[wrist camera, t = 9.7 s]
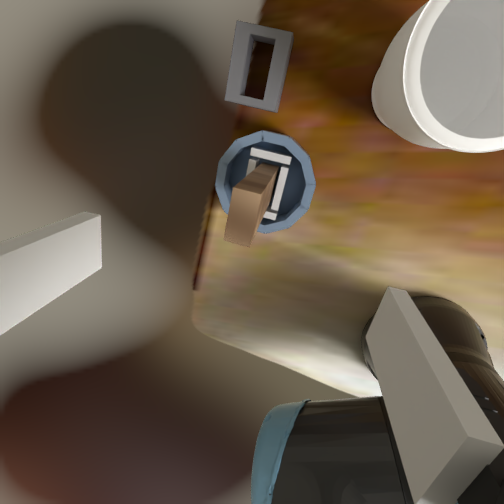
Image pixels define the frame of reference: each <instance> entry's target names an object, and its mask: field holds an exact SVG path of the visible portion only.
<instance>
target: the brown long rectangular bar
mask: <svg viewBox="0 0 504 504" xmlns="http://www.w3.org/2000/svg"><path fill="white" fill-rule="evenodd" d="M278 169H279V166H276V165H272V164H268V163H264V162H263V163H261V164H260V165H259V166H258V167H257V168H255V169H254V170H253V171H252V172H251V173H250V174H248V175H247V176H246V177H245V178H244V179H242V180H241V181H240V182H239V183H238V184H237V185H235V186H234V187H233V190H232V196H231V201H230V207H229V212H228V218H227V223H226V229H225V234H224V241H228V242H232V243H236V244H239V245H243V246H247V247H250V245H251V243H252V240H253V238H254V236H255V234H256V232H257V229H258V227H259V225H260V223H261V221H262V218H263V216H264V214H265V212H266V210H267V207H268V205H269V203H270V201H271V198H272V194H273V190H274V186H275V182H276V178H277V174H278Z"/></svg>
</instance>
